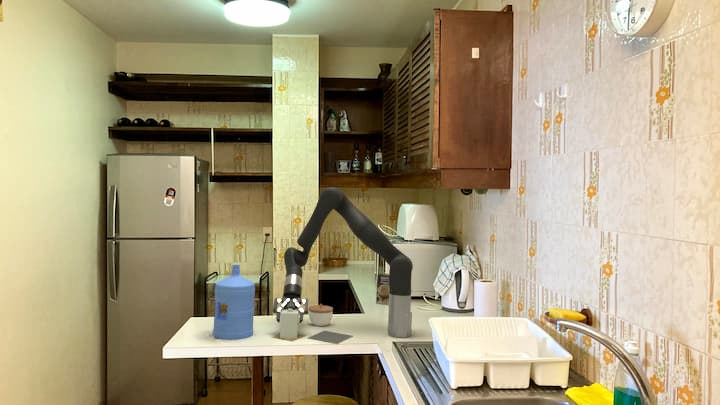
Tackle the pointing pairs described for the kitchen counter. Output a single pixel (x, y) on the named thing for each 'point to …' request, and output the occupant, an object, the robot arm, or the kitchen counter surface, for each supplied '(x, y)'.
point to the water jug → (234, 306)
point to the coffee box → (382, 289)
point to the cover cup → (289, 324)
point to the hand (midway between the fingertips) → (289, 321)
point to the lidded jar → (320, 315)
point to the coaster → (289, 339)
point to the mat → (330, 337)
